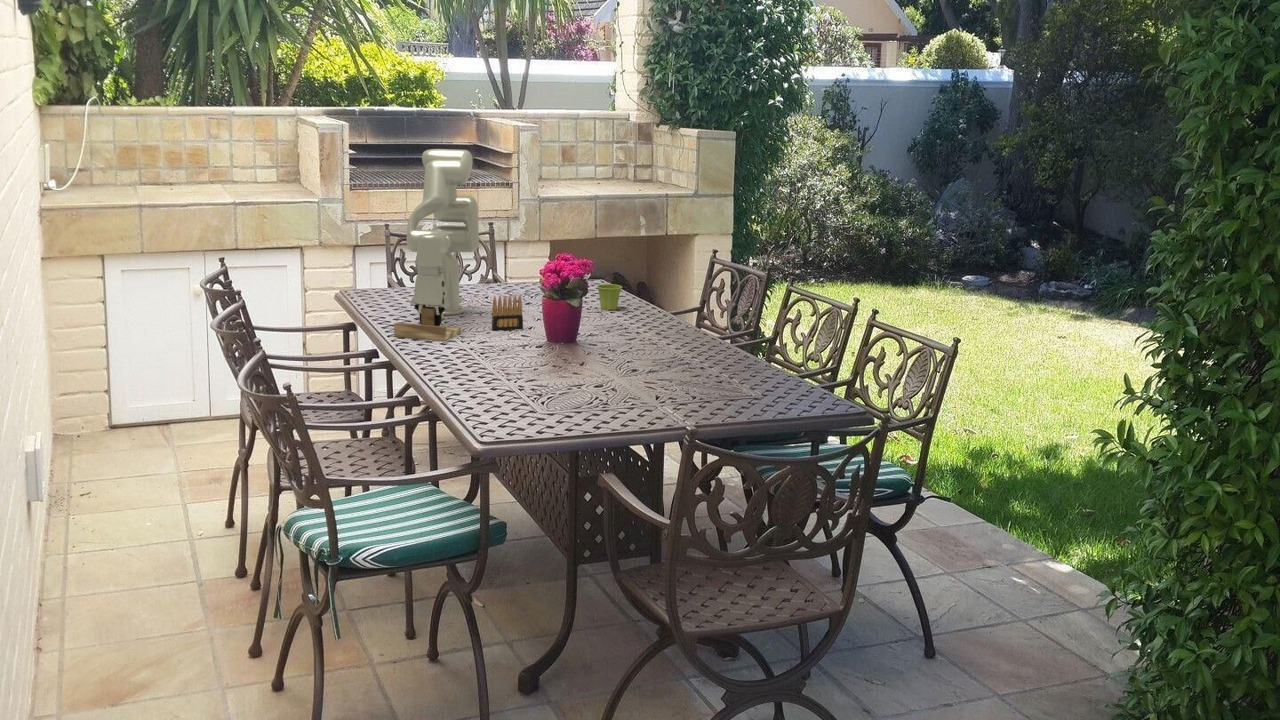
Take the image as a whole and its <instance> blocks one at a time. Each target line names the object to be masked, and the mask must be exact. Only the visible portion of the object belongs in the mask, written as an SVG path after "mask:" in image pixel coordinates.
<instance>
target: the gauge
mask: <svg viewBox="0 0 1280 720" xmlns="http://www.w3.org/2000/svg"><path fill="white" fill-rule="evenodd" d="M435 315H436V311H435V307H433V306H429V305H426V307H423V308H421V323H420V324H421V325H430V326H435ZM444 319H445V315H441V322H442V321H444Z"/></svg>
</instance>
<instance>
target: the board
mask: <svg viewBox="0 0 1280 720" xmlns="http://www.w3.org/2000/svg"><path fill="white" fill-rule="evenodd" d="M393 325H394V326H393V330H394V332H393V335H394V338H402V337H406V339H414V338H418V339H417V340H425V339H428V340H427V341H436V340H437V341H438V342H446V341H448V340H449V338H450V339H452V338H454V337H456V336H455V335H457V334H459V333H461V334H462V332H461V331H462V329H461V328H462V327H456V326H455V327H454V326H447V325H446V326H444V325H440V326H430V325H421V323H405V322H404V323H403V322H395V323H393ZM459 335H460V334H459ZM453 336H454V337H453ZM457 336H458V335H457ZM447 339H448V340H447ZM445 340H446V341H445Z"/></svg>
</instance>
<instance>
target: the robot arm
mask: <svg viewBox="0 0 1280 720" xmlns="http://www.w3.org/2000/svg"><path fill="white" fill-rule="evenodd" d="M421 161H422V165H423V167H424V177H423V178H424V181H423V192H422V193H423V194H422V202H421V203H419V204H418V205H417V206H416V208H414V210H413V211H412V212H411V214H410V216H409V218H408V220H407V228H406V229H407V230H406V246H407V249H408V250H409V251H410V252H412V253H417V272H418V273H417V274H416V277H415V281H414V292H413V293H414V295H413V297H412V299H411V300H410V302H409V303H410V305H411V306H412V307H414V309H415V310H416V311H417V313H418V314H419V324H421V308H423V307H426V306H433V307H435V311H436V315H435V326H442V325H441V324H442V321H441V315H444V316H454V315H455V316H456V315H461V314H463V313H464V312H465V309H464V308H463V307H461V306H460V304H462V302H463V298H461V297H460V263H459V261H458V260H457V258H456V257H455V255H453V253H474V252H476V251H478V248H479V242H480V241H479V239H480V235H479V234H480V233H479V231H480V229H479V207H478V202H477V200H476V198H475V197H473V196H471V195H458V194H457V186H464V185H466V184H467V182H468V181H469V178H470V175H471V173H472V168H473V163H474V162H473V156H472V153H471V152H470V151H469V150H467V149H452V148H451V149H449V148H446V149H445V148H432V149H430V148H429V149H426V150H424V151H423V152H422V155H421ZM431 215H433V217H434V219H435V220H436V221H437V222H442V223H463V224H464V225H450V224H449V225H448V224H447V225H443V224H442V225H436V226H434V227H432V228H431V229H417V227H418V225H419V223H420V221H422V220H423V219H425V218H426V217H428V216H431Z"/></svg>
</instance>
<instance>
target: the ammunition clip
mask: <svg viewBox="0 0 1280 720" xmlns="http://www.w3.org/2000/svg"><path fill="white" fill-rule="evenodd" d="M512 300H513V301H512ZM517 300H518V301H517ZM497 301H498V302H497ZM522 301H523V300H522V296H521V295H520V294H519V295H518V299H517V296H516V294H514V295H513V299H512V295H509V296H508V300H507V297H506V295H504V296H503V300H502V296H501V295H499V296H498V299H497V297H496V295H494V296H493V299H492V309H491V311H492V312H491V313H492V314H491V315H492V316H491V331H492V330H493V332H497V331H498V332H499V330H503V331H516V330H515V329H522V330H524V320H523V319H524V318H523V317H524V316H523V304H522V303H523V302H522Z"/></svg>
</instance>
